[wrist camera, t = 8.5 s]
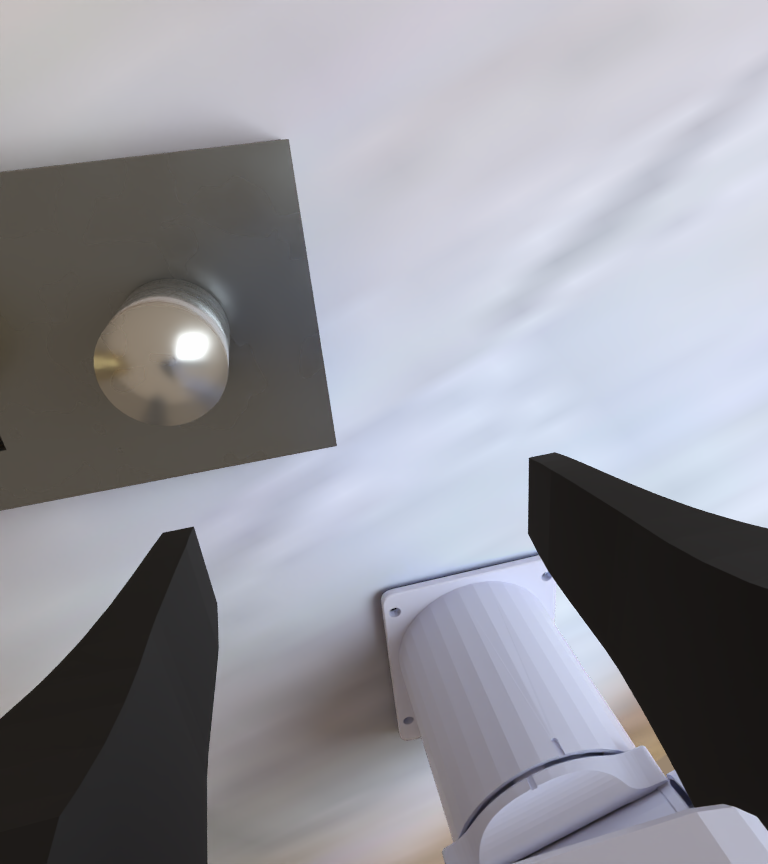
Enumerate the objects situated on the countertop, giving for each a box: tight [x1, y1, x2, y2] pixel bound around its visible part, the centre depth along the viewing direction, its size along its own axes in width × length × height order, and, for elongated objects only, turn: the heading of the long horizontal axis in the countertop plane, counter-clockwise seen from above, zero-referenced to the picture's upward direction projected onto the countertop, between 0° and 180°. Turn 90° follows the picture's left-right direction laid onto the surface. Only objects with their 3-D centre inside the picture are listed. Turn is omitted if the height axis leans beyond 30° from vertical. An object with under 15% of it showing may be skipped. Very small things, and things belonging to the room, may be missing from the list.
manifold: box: [0, 139, 337, 511], centre depth 16 cm, size 9×16×6 cm, turn 96°
